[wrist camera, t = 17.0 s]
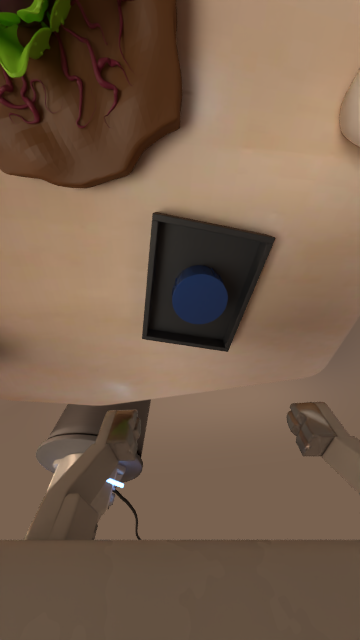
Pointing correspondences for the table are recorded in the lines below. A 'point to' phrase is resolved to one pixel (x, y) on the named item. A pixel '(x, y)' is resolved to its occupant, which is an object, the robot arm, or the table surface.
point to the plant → (85, 86)
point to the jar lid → (199, 295)
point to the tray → (208, 250)
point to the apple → (351, 112)
